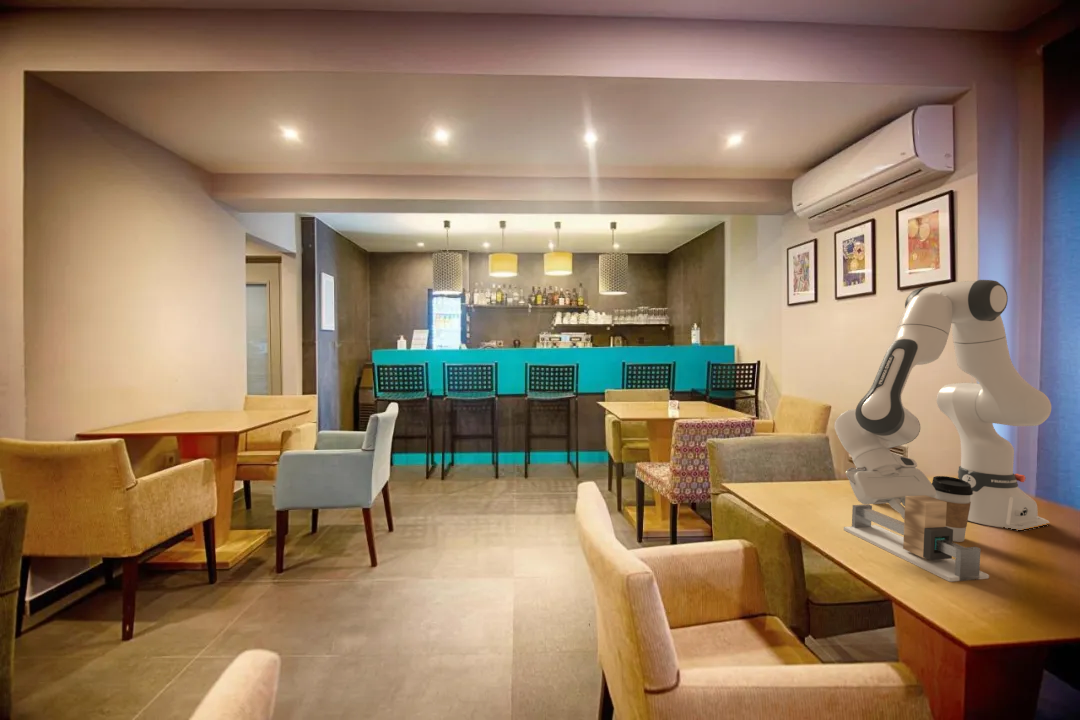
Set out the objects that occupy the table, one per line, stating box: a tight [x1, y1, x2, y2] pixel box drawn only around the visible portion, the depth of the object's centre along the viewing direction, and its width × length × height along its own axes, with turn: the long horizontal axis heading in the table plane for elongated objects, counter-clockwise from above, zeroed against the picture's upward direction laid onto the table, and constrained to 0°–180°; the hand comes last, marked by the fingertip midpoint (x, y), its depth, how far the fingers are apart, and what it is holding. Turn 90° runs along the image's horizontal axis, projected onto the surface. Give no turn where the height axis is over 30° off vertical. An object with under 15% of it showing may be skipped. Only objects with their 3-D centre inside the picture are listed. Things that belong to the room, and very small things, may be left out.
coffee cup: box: [931, 475, 973, 543], centre depth 123 cm, size 8×8×15 cm
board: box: [843, 524, 990, 582], centre depth 115 cm, size 28×10×1 cm, turn 10°
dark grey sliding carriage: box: [923, 527, 954, 560], centre depth 107 cm, size 2×6×7 cm, turn 100°
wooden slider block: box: [903, 495, 947, 558], centre depth 111 cm, size 5×6×13 cm
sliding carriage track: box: [851, 504, 982, 582], centre depth 114 cm, size 28×5×7 cm, turn 10°
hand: (911, 518), depth 114 cm, fingers closed, pressing on wooden slider block
